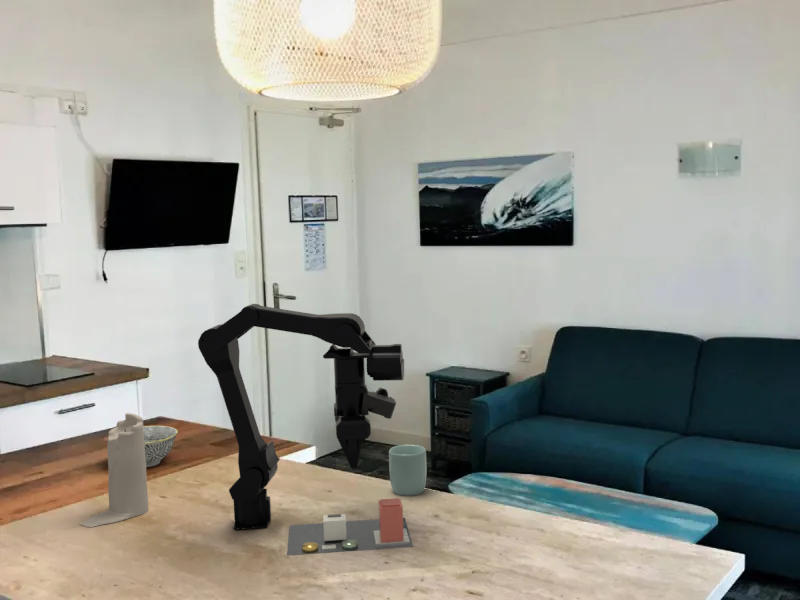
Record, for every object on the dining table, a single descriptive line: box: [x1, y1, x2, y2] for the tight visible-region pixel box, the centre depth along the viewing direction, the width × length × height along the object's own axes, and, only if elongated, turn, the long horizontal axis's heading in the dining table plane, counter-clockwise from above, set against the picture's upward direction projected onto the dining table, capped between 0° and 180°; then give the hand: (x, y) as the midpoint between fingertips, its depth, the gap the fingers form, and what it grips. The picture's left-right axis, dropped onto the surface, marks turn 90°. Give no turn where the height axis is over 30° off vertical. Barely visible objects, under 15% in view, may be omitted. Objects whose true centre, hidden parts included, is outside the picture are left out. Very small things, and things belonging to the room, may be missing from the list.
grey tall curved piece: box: [79, 412, 149, 528], centre depth 167 cm, size 7×14×20 cm, turn 137°
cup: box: [388, 444, 427, 496], centre depth 175 cm, size 8×8×10 cm
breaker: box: [322, 513, 347, 541], centre depth 150 cm, size 4×3×4 cm
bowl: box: [143, 425, 178, 468], centre depth 204 cm, size 16×16×8 cm
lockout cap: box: [377, 498, 404, 541], centre depth 149 cm, size 4×4×6 cm
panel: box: [286, 517, 414, 557], centre depth 152 cm, size 22×14×2 cm, turn 96°
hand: (352, 461), depth 159 cm, fingers open, 9 cm apart
